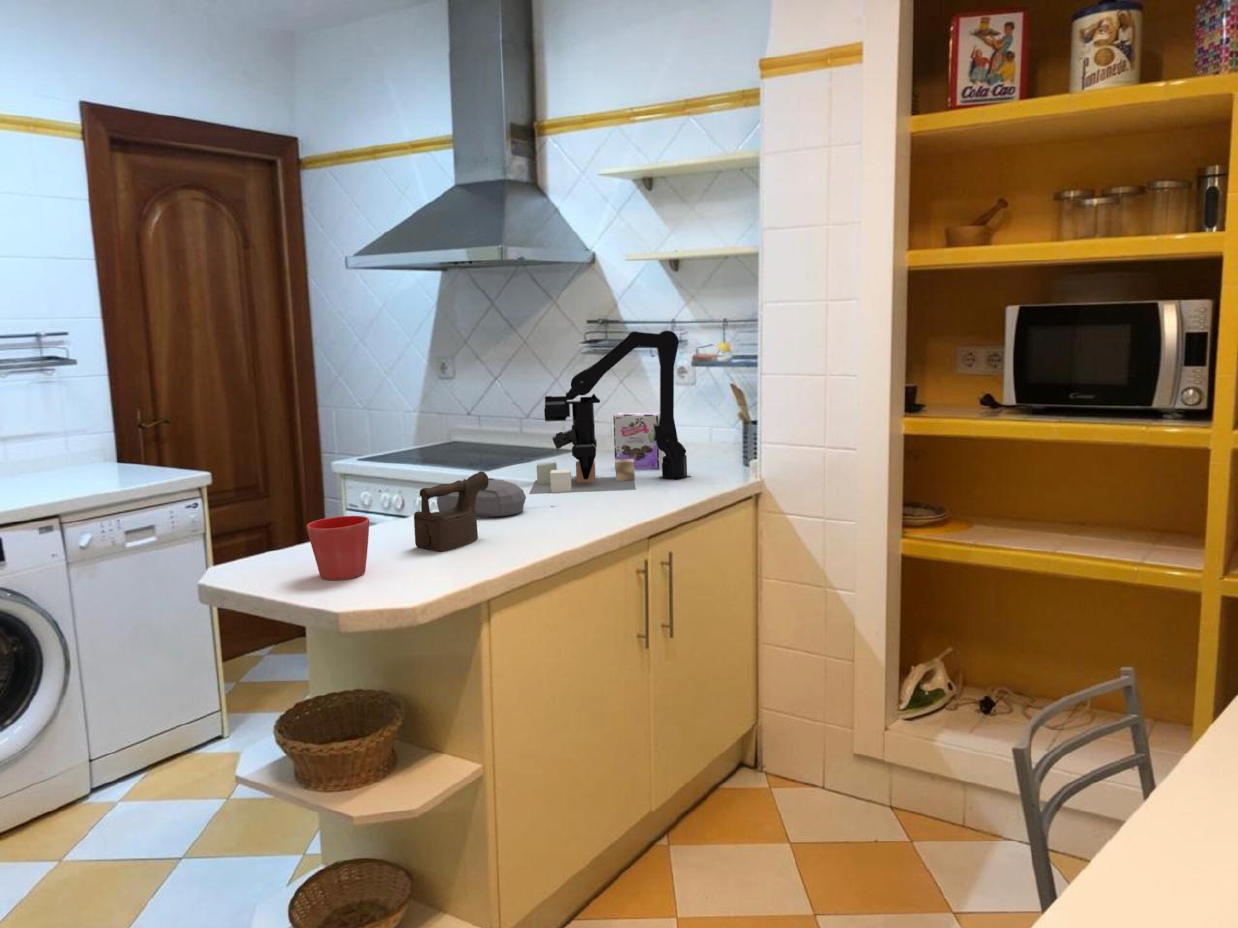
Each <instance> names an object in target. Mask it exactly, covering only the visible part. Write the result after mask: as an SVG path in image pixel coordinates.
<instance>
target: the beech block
mask: <svg viewBox="0 0 1238 928" xmlns="http://www.w3.org/2000/svg"><path fill="white" fill-rule="evenodd" d="M614 467H615V477H616V481H628V480H634V481H635V477H636V476H635V469H634V459H624V460H615V459H614Z"/></svg>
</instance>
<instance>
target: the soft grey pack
mask: <svg viewBox="0 0 1238 928" xmlns="http://www.w3.org/2000/svg"><path fill="white" fill-rule="evenodd" d="M466 480H467V479H465V478H463V479H462V481H464V482H465V481H466ZM488 480H489V483H488V487H487V488H486V489H485V490H480V491H479V492H478V494H477V497H476V503H475V511H476V517H488V518H494V517H495V518H496V517H507V516H511V515H515V514H519V513H521V512H522V511H524V506H525V502H526V500H527V496H526V493H525V491H524V490H523V488H521V487H519V486H518V484H516V483H512V482H510V481H506V480H503V479H496V478H491V477H490V478H489V477H488ZM458 497H459V492H453V493H450V494H448V495H445V496H439V497H436V499H437V500H436V505H437V510H438V512H439V511H445V510H450V509H453V508H454V507H455V506H456V504H457V502H458Z"/></svg>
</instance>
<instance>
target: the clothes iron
mask: <svg viewBox="0 0 1238 928" xmlns="http://www.w3.org/2000/svg"><path fill="white" fill-rule="evenodd" d="M488 476H489V475H487V473H486V472H485V471H481V470H480V471H478V472H476V473H474V474H472V475H471V476H469V477H468V478H467V479H466V481H465V482H464V481H463V480H456V481H454V482H451V483H441V484H438V485H435V486H432V487H423V488H421V489H420V490H419V496H420V497H421V499H420V500H421V502H420V503H421V505H420V507H421V508H420V509H421V511H415V513H414V514H413V526H414V527H413V528H414V542H415V547H417V548H421V549H425V550H432V551H436V552H440V553H441V552H447V551H452V550H454V549H459V548H462V547H466V546H468V545H470V544H473V543H474V542H476V541H477V540H478V537H479V534H478V533H479V532H478V522H477V520H478V518H476V511H475V503H476V497H477V494H478V492H479V491H480V490H485V489H486V488H487V487H488V483H489V480H488V478H489V477H488ZM453 492H459V497H458V502H457V504H456V506H455V507H454V508H453V509H450V510H445V511H439V510H438V511H434V512H433V511H431V510H430V504H429V499H432V498H437V497H439V496H445V495H448V494H450V493H453Z"/></svg>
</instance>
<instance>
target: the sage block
mask: <svg viewBox="0 0 1238 928" xmlns="http://www.w3.org/2000/svg"><path fill="white" fill-rule="evenodd" d="M551 470H558V468H557V462H556V461H553V462H549V461H548V462H537V464H536V478H537V479H536V480H537V484H551V480H550V472H551Z"/></svg>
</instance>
